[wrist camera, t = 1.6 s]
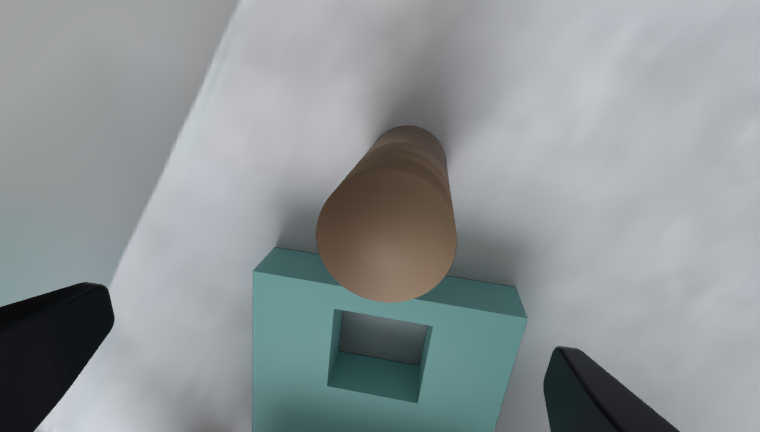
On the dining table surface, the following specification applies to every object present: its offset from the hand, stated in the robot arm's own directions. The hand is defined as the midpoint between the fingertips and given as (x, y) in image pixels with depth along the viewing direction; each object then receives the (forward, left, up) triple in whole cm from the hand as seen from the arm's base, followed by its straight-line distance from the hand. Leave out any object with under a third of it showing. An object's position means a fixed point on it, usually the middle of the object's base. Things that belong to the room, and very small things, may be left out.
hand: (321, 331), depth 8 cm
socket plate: (-1, +14, -14) cm, 19 cm away
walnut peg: (-1, 0, -14) cm, 14 cm away
